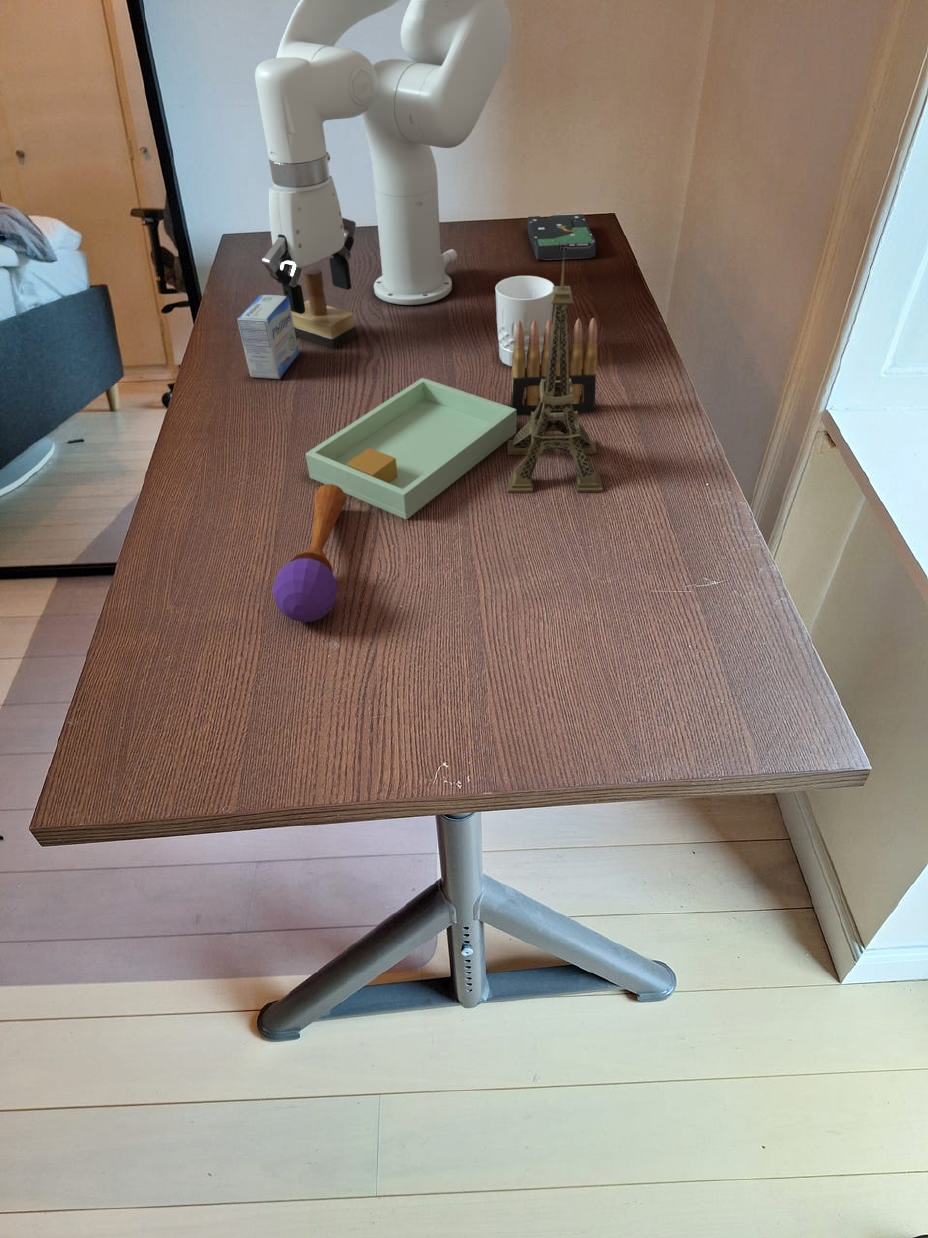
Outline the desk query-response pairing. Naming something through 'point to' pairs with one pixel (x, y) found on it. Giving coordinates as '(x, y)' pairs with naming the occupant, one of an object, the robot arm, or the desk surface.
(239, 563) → the desk surface
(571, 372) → the ammunition clip
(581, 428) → the eiffel tower
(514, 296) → the white cup
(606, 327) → the desk surface
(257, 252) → the desk surface
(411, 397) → the tray
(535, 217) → the disk drive
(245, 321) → the medicine box
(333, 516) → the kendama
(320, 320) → the brush
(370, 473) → the wooden block
